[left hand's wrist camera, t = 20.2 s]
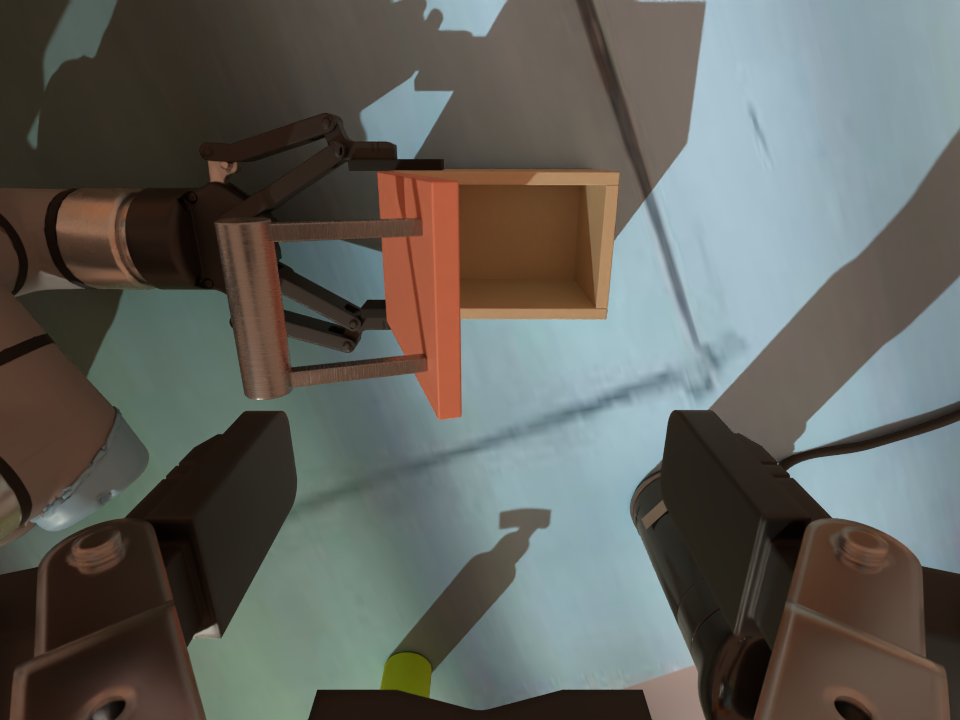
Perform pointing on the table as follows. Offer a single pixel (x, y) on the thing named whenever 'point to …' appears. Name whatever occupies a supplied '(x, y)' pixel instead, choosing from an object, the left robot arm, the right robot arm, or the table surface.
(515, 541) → the table surface
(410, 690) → the soap dispenser
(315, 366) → the lid
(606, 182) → the chest
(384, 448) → the table surface
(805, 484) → the table surface
